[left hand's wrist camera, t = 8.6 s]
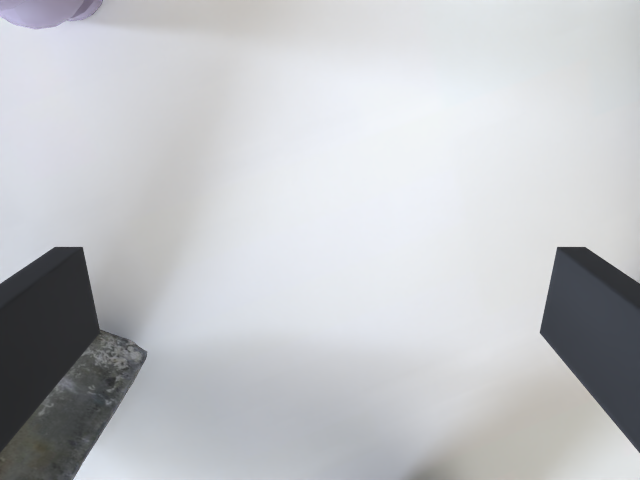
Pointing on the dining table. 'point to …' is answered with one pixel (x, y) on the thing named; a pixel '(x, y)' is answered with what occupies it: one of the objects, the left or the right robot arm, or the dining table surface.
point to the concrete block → (73, 413)
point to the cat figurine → (46, 11)
